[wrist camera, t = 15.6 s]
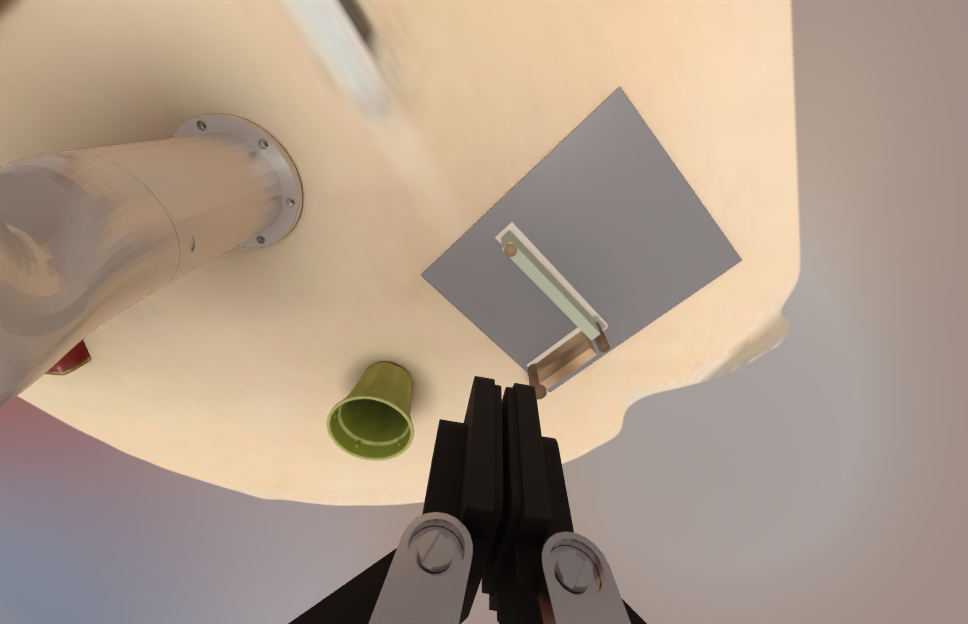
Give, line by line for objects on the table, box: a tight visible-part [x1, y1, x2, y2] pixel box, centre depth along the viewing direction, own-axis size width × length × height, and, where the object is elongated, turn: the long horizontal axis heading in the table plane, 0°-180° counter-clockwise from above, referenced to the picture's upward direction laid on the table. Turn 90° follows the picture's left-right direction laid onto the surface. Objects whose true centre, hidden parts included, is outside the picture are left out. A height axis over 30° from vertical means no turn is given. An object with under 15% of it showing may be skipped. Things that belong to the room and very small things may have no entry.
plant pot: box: [327, 362, 414, 460], centre depth 47 cm, size 9×9×9 cm
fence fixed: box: [528, 322, 610, 399], centre depth 46 cm, size 10×2×5 cm, turn 134°
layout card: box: [421, 87, 742, 392], centre depth 43 cm, size 26×22×1 cm
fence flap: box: [501, 230, 600, 341], centre depth 41 cm, size 14×1×4 cm, turn 44°
